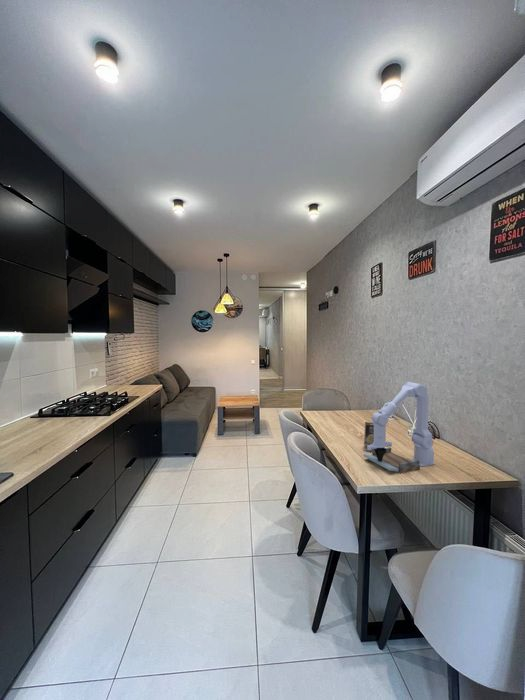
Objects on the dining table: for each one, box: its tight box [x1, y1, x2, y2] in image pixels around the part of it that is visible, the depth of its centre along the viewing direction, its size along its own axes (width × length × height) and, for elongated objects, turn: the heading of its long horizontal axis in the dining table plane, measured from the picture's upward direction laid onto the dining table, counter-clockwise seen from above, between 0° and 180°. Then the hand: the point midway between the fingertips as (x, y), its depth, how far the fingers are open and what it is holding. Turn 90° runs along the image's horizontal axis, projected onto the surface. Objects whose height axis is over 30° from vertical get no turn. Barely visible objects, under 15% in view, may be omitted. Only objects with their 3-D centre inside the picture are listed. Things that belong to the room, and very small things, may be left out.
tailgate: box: [363, 453, 399, 472], centre depth 155 cm, size 1×19×6 cm
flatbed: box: [371, 447, 421, 474], centre depth 159 cm, size 13×20×4 cm, turn 21°
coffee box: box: [363, 421, 374, 453], centre depth 177 cm, size 9×6×16 cm
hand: (379, 461), depth 155 cm, fingers closed, pressing on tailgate
